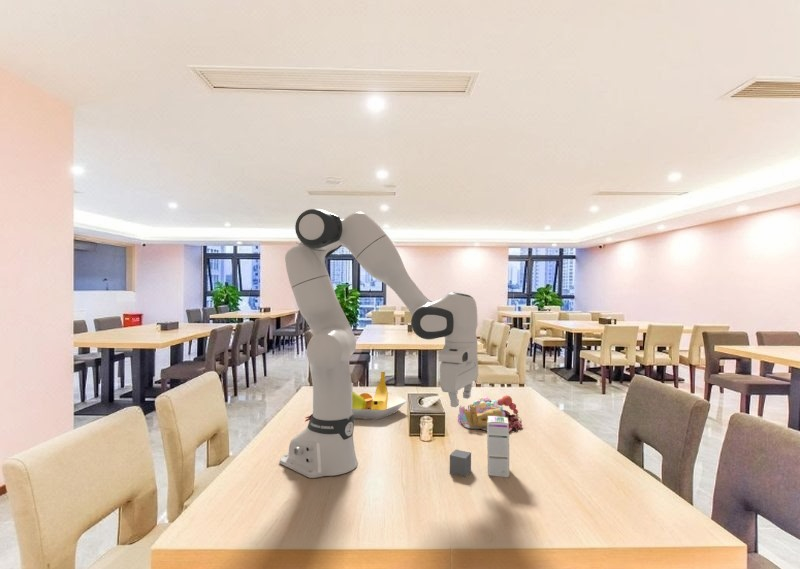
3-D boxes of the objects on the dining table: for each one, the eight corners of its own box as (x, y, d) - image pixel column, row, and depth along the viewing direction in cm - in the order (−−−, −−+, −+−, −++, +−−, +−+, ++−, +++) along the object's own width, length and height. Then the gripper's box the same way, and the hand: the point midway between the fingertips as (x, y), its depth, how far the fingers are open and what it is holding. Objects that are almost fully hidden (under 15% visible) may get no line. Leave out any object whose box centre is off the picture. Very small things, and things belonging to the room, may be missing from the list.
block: (449, 473, 110) (449, 455, 110) (455, 467, 114) (455, 449, 114) (465, 477, 108) (465, 458, 108) (471, 470, 112) (471, 452, 112)
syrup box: (509, 477, 108) (510, 423, 108) (487, 475, 109) (487, 421, 109) (508, 468, 113) (508, 416, 114) (486, 466, 115) (487, 415, 115)
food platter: (526, 436, 139) (526, 409, 139) (456, 432, 143) (457, 405, 143) (518, 414, 164) (518, 391, 164) (459, 411, 168) (459, 388, 168)
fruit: (328, 406, 173) (329, 372, 173) (385, 399, 184) (385, 367, 184) (350, 428, 146) (351, 387, 146) (415, 419, 157) (415, 381, 157)
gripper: (463, 346, 122) (463, 392, 122) (435, 355, 104) (435, 409, 104) (483, 347, 119) (483, 394, 119) (458, 357, 101) (458, 413, 101)
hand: (460, 402), depth 111 cm, fingers open, 8 cm apart
